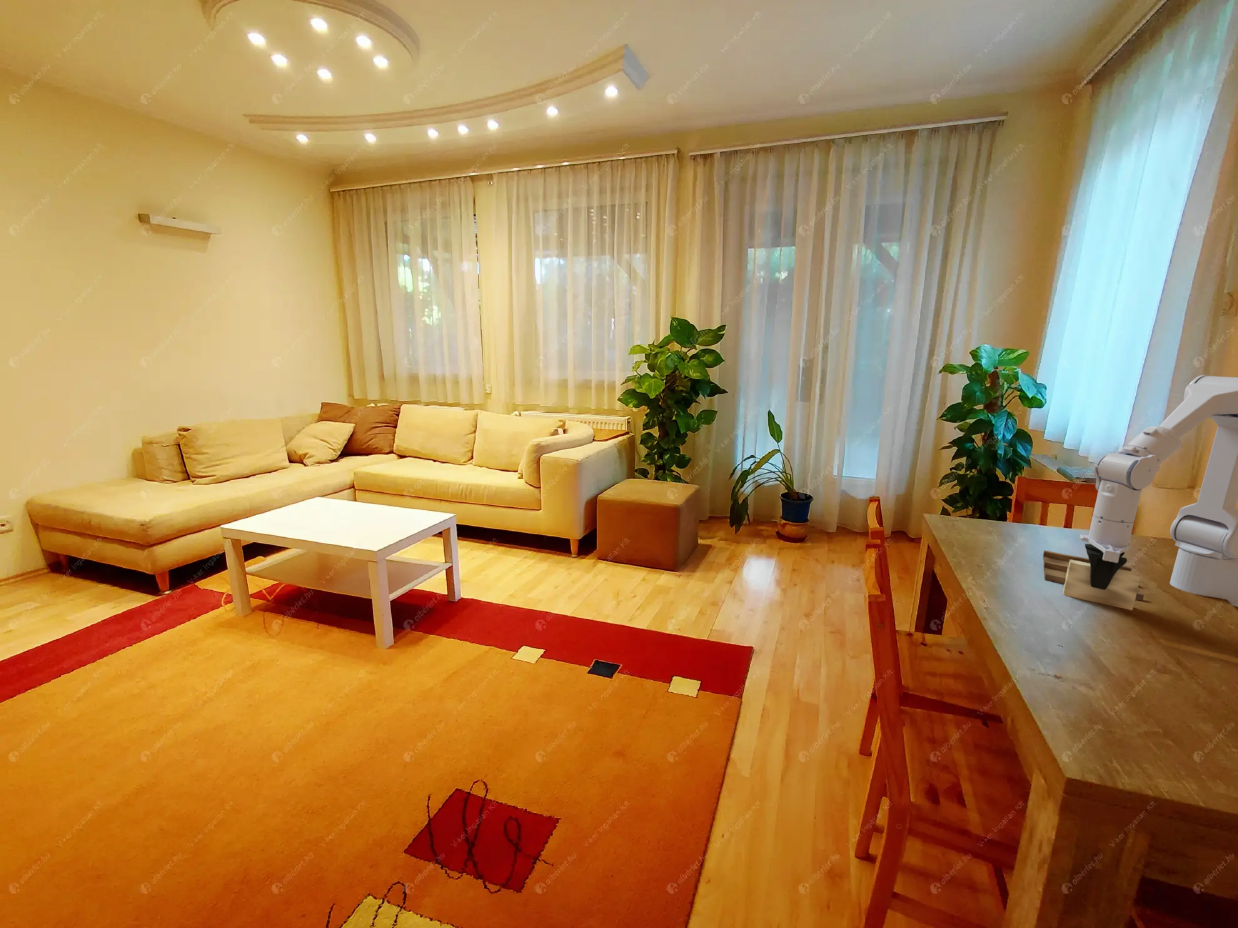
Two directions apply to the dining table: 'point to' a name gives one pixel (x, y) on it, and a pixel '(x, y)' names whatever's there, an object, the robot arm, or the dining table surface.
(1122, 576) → the birch panel
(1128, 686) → the dining table surface
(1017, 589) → the dining table surface
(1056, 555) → the walnut rack
